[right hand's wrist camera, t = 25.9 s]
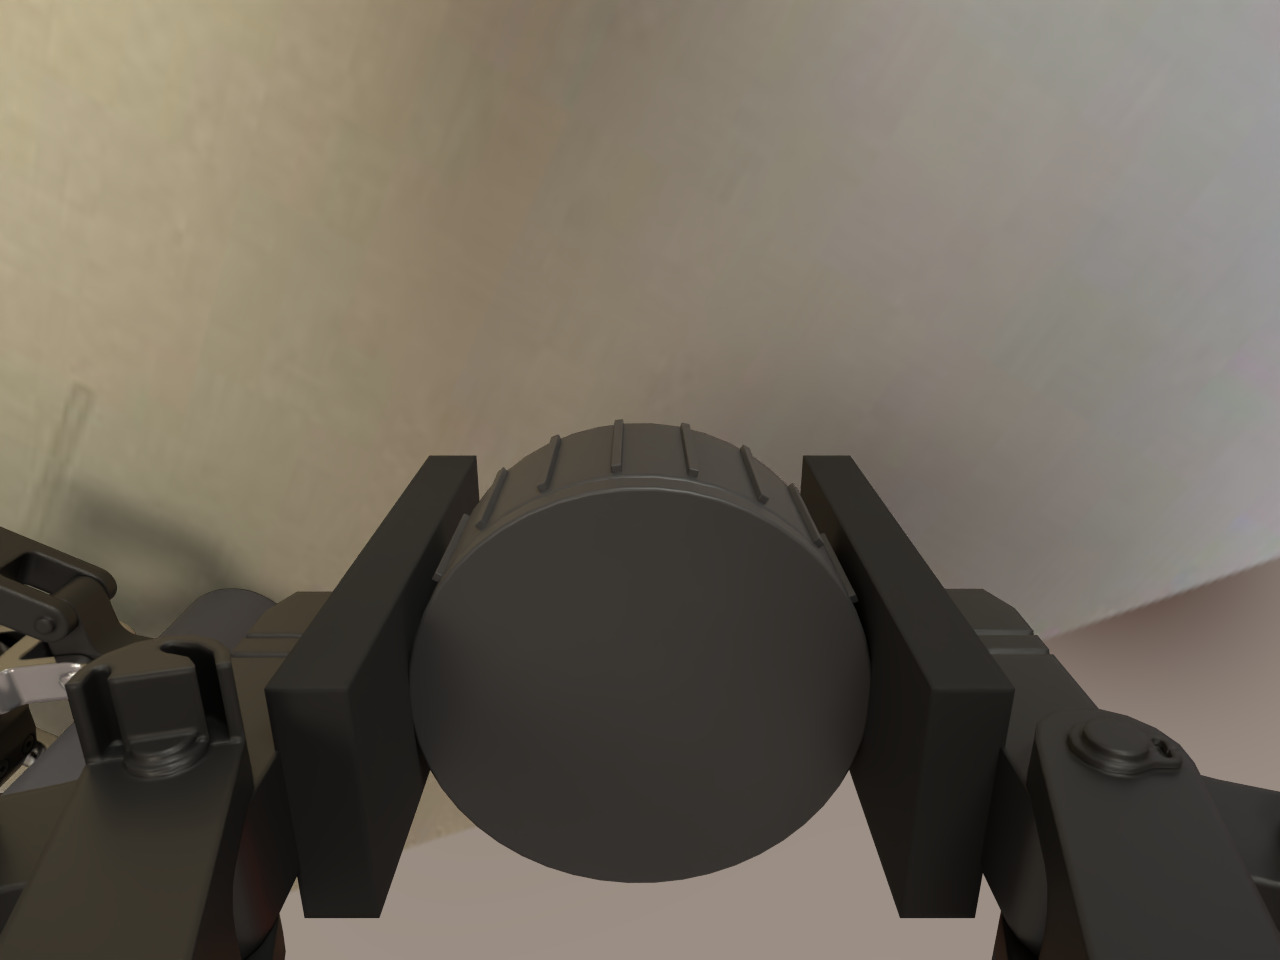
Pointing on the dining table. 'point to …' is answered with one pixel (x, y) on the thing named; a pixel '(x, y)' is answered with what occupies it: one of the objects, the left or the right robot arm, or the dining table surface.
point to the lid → (639, 658)
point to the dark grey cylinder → (206, 617)
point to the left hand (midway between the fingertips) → (237, 763)
